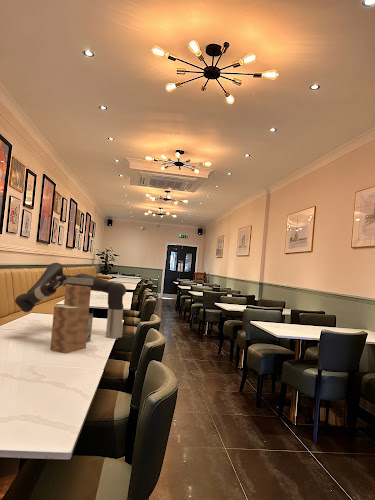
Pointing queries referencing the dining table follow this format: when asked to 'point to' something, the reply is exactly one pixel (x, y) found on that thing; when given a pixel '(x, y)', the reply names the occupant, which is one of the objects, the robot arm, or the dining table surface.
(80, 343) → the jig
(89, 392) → the dining table surface
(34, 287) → the robot arm
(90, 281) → the bar
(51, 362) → the dining table surface
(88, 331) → the coffee box
